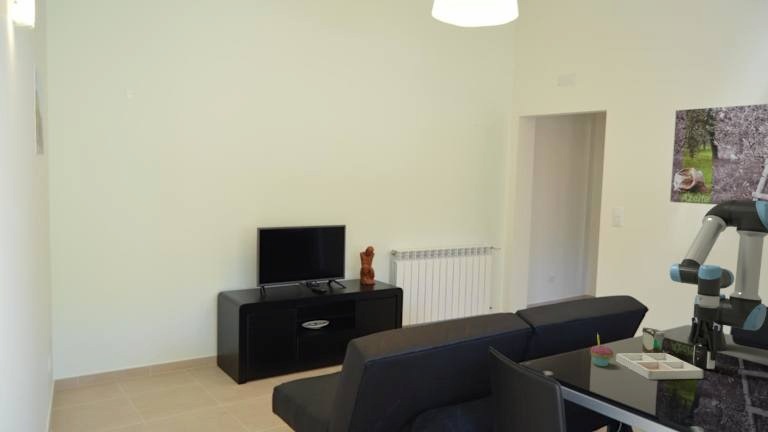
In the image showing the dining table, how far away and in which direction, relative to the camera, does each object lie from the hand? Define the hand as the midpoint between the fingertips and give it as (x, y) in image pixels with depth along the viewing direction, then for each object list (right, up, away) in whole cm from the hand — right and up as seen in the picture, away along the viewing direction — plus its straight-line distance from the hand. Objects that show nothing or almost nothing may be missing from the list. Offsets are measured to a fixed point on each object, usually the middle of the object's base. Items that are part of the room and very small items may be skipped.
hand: (703, 365), depth 226 cm
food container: (-12, 0, +15) cm, 19 cm away
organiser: (-20, -1, -4) cm, 20 cm away
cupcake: (-40, 0, -1) cm, 39 cm away
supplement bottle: (0, -1, 0) cm, 1 cm away
